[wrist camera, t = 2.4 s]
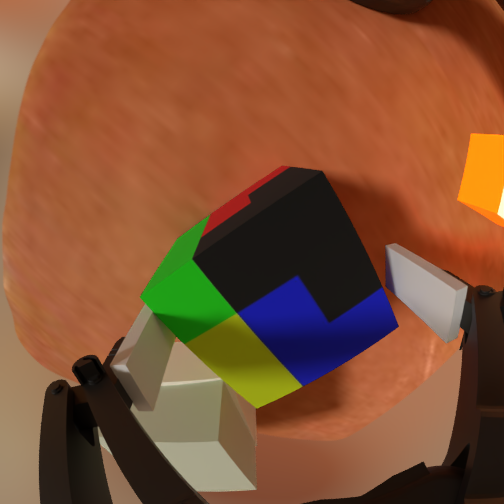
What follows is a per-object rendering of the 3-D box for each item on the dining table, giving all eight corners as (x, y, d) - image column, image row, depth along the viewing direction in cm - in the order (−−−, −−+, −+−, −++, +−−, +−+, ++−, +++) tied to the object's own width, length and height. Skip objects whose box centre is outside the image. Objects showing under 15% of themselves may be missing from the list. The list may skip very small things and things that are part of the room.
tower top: (223, 379, 20) (218, 441, 14) (255, 442, 24) (256, 489, 18) (112, 387, 21) (91, 435, 15) (162, 446, 24) (154, 487, 19)
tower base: (231, 333, 25) (228, 377, 20) (255, 406, 29) (257, 445, 24) (125, 345, 26) (105, 382, 20) (165, 412, 30) (157, 447, 24)
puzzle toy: (341, 264, 23) (398, 326, 14) (248, 324, 25) (256, 408, 15) (281, 165, 20) (322, 171, 11) (177, 238, 22) (139, 296, 12)
